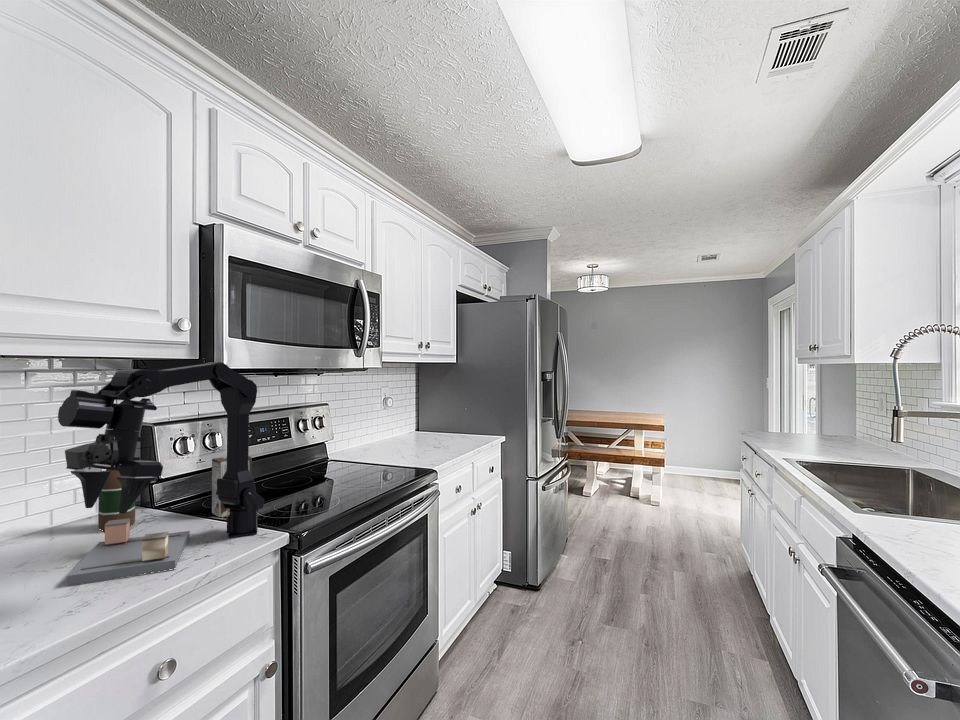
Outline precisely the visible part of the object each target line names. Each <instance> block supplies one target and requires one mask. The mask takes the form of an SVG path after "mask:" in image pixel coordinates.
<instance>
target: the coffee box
mask: <svg viewBox="0 0 960 720" xmlns="http://www.w3.org/2000/svg"><path fill="white" fill-rule="evenodd" d="M252 460H253V459H252V456H250V455H248V469H249V471H250V473H251V475H252V476H253V472H252V471H253V469H252V467H253V463H252V462H253V461H252ZM226 469H227V456H221V457H216V458H212V459H211V513H212V514H213V515H215V516H216V517H217V518H220V517H222V518H225V517H226V518H227V516H228V514H230V509H224V506H223V503H222V502H221V501H220V500H219V498H218V495H216V492H217V479H218V478H222V477H223V476H224V474H225V472H226Z"/></svg>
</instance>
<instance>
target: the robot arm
mask: <svg viewBox="0 0 960 720" xmlns="http://www.w3.org/2000/svg"><path fill="white" fill-rule="evenodd" d="M204 381H209V383H210V385H211V386H212V387H213V388H214V390H216V391H217V392H219V395H220V401H221V405H222V407H223V409H224V410H225V412H226V416H227V419H226V420H227V422H226V424H227V425H226V426H227V427H226V429H227V430H226V457H227V469H226V472H225V474H224V476H223V477H222V478H218V479H217V492H216V495H218V498H219V500H220V501H221V502H222V503H223V506H224V509H230V514H228V516H226V533H227V536H228V538H230V539H231V538H235V537H237V538H238V537H244V536H245V537H246V536H252V535H257V534H258V528H259V527H258V511H259V510H260V509H262V508H263V507H264V504H265V501H266V500H265V498H264V497H263V496H261V495H260V494H259V493H258V492H257V491H256V482H255V479H254V477H253V474H252V475H251V473H250V471H249V469H248V456H249V447H250V446H249V445H250V444H249V443H250V439H249V437H250V435H249V434H250V433H249V432H250V430H249V429H250V412H252V410H253V408H254V406H255V404H256V402H257V396H258V386H257V384H256V383H255V382H254V381H253V380H251V379H249V378H247V377H246V376H244V375H243V374H241V373H239V372H237V371H236V370H234V369H232V368H230V366H228V365H227V364H225V363H224V362H221V361H218V362H217V361H214V362H213V361H209V362H206V363H201V364H195V365H187V366H179V367H172V368H165V369H134V368H131V369H127V368H125V369H120V370H118V371H115V373H114V375H113V376H112V377H111V380H110V381H109V382H108V383H107V384H106V385H104V386H103V387H102V388H101V389H100V390H98V391H97V392H96V393H95V392H94V393H93V392H88V391H84V390H75V389H73V390H72V389H71V391H70V394H69V396H67V397H66V398H65V400H63V402H62V404H61V406H59V409H58V413H57V421H58V423H59V425H60V426H62V427H69V428H81V429H83V428H84V429H97V430H99V429H102V428H103V427H104V426H105V430H104V433H99V434H98V435H97V436H96V438H95V441H93V442H90V443H89V442H88V443H85V444H82V445H78V446H75V447H71V448H68V449H65V450H64V455H65V462H66V469H67V470H70V473H71V475H74V476H76V478H77V479H79V480H80V483H81V484H80V485H81V489H82V494H83V495H82V496H83V500H84V501H83V502H84V507H85V509H93V507H94V506H95V504H96V502H97V500H98V497H99V495H100V493H101V490H102V488H103V486H104V484H105V482H106V480H107V478H108V476H109V474H110V472H109V471H106V469H108V470H116V471H119V473H120V475H121V476H127V477H117V479H118V481H119V482H120V483H121V485H122V489H121V497H120V504H119V513H120V514H123V513H126V512H127V511H128V509H129V508H130V507H131V506H132V504H133V503H134V502H135V503H136V500H137V499H138V498H139V497H140V495H141V494H142V493H143V491H145V489H147V487H148V486H149V485H150V484H151V483H152V482H153V481H156V479H157V477H162V474H163V470H164V465H163V464H162V463H161V461H155V460H141V456H136V454H137V450H138V445H139V443H143V442H144V441H145V436H141V431H142V427H143V421H144V418H145V413H146V411H157V409H158V408H157V406H156V405H155V404H154V403H153V402H152V401H151V398H148V397H151V396H153V395H155V394H157V393H161V392H162V391H164V390H166V389H168V388H171V387H174V386H175V387H176V386H181V385H186V384H192V383H198V382H204ZM135 398H140V400H134V399H135ZM115 401H121V402H120V403H114V402H115ZM119 466H120V467H119Z"/></svg>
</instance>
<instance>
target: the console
mask: <svg viewBox="0 0 960 720" xmlns="http://www.w3.org/2000/svg"><path fill="white" fill-rule="evenodd" d="M190 532H191V531H190V530H187V531H186V530H185V531H177V532H168V553H167V555H166V557H165V558H160V559H153V560H146V561H142V539H143V538H144V536H138V537H130V538H129V539H128V540H127V541H126V542H121V543H113V544H105V540H103V541H99V542H98V543H97V544H96V545H94V547H93V548H92V549H91V550H90V551H89V552H88V554H86V555H85V556H84V557H83V558H82V559H81V561H80V562H79V563H78V564H77V565H76V566H75V567H74V568H73V569H71V571H70V572H69V573H68V574H67V575H66V587H71V586H77V585H84V584H91V583H96V582H104V580H105V581H109V580H110V579H111V580H116V579H115V578H118V579H122V578H121V577H124V578H128V577H127V576H131V577H134V576H133V575H138V576H140V575H139V574H144V573H151V572H157V573H159V572H158V571H164V570H169V569H174V568H176V569H177V567H178V565H177V563H178V562H180V561H179V559H180V560H181V558H182V556H183V554H184V552H185V550H186V548H185V547H187V546H186V545H188V543H189V541H190V539H189V538H190V536H191V535H190V534H191V533H190ZM188 540H189V541H188ZM184 549H185V550H184ZM183 551H184V552H183ZM182 553H183V554H182ZM181 555H182V556H181ZM180 557H181V558H180ZM178 564H179V563H178ZM176 566H177V567H176ZM164 572H165V571H164ZM151 574H152V573H151ZM144 575H145V574H144Z"/></svg>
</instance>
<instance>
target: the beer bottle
mask: <svg viewBox="0 0 960 720" xmlns="http://www.w3.org/2000/svg"><path fill="white" fill-rule="evenodd" d="M119 467H120V466H119ZM105 471H109V472H110V474H109V476H108V478H107V480H106V482H105V484H104V486H103V488H102V490H101V493H100V495H99V497H98V499H97V500H98V503H97V505H98V506H97V507H98V511H97V513H98V515H97V516H98V517H97V518H98V519H97V524H98V530H99V529H101V530H103V531H105V527H104V525H105V524H106V523H107V522H108V521H110V520H119V519H128V518H130V526H131V525H132V526H134V525H135V522H136V501H135V502H134V503H133V504H132V506H131V507H130V508H129V509H128V511H127V512H126V513H123V514H120V513H119V504H120V497H121V489H122V485H121V483H120V482H119V481H118V479H117V477H127V476H121V475H120V473H119V471H116V470H108V469H105ZM133 524H134V525H133ZM132 526H131V527H132ZM101 530H100V531H101ZM103 531H102V532H103Z"/></svg>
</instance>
